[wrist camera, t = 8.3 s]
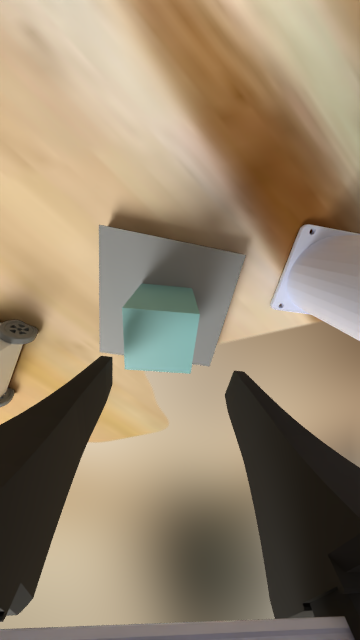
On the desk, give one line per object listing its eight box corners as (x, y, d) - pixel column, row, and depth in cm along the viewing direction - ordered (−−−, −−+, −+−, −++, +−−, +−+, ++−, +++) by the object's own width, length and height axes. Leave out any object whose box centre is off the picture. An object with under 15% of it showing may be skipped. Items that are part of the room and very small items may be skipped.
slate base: (236, 252, 17) (245, 255, 15) (205, 353, 22) (209, 366, 20) (109, 226, 16) (99, 224, 13) (107, 339, 21) (99, 352, 18)
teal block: (192, 288, 16) (199, 314, 10) (186, 331, 18) (190, 373, 12) (141, 283, 15) (122, 307, 10) (141, 328, 17) (124, 369, 12)
